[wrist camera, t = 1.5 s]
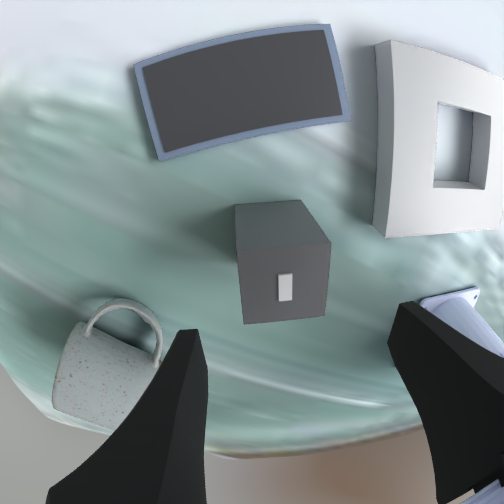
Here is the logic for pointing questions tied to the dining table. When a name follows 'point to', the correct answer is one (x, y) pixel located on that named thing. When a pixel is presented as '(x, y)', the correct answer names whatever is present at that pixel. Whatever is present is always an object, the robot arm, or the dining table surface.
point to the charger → (281, 262)
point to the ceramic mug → (104, 370)
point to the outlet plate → (435, 144)
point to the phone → (242, 88)
